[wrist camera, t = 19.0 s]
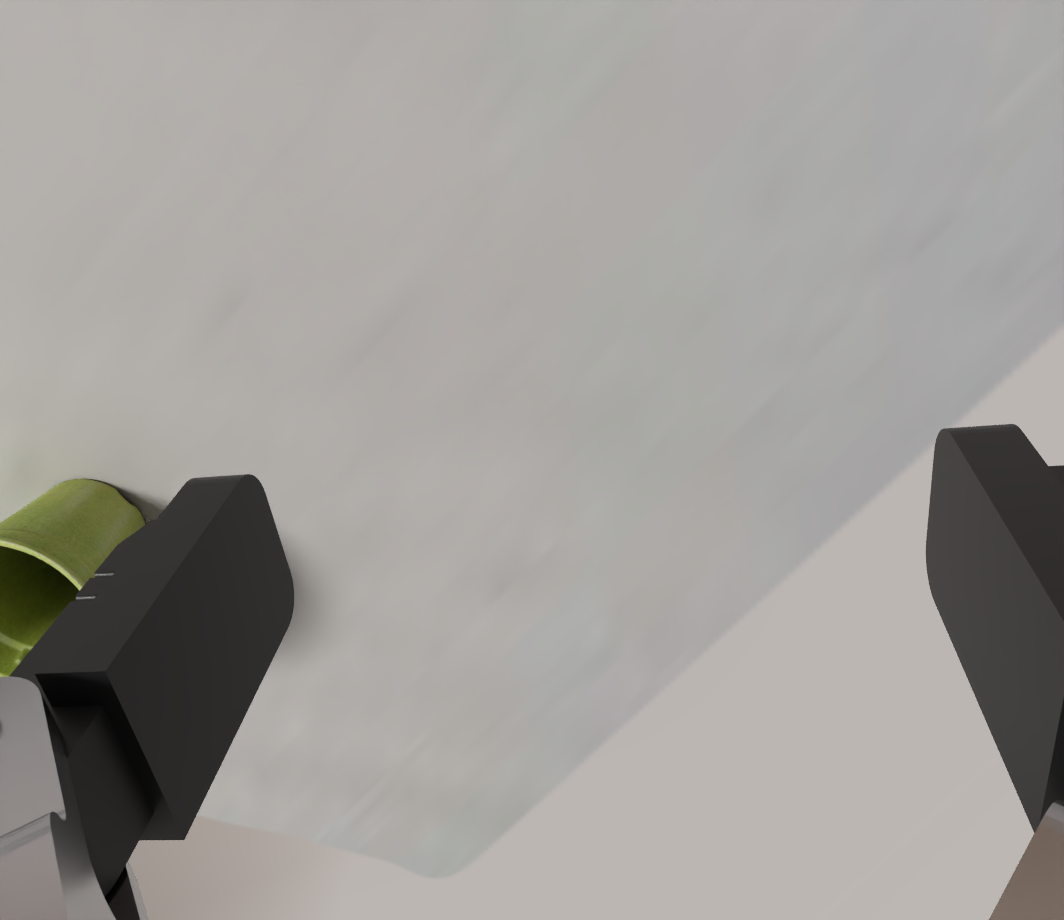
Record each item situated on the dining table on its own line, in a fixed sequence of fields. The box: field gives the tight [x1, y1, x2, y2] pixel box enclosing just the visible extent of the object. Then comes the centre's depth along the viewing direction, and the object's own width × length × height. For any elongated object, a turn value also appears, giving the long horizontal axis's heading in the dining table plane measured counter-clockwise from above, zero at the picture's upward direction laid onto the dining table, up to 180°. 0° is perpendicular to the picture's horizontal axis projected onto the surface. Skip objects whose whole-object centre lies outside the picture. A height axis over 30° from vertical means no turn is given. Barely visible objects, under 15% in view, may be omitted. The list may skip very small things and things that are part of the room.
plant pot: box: [0, 479, 146, 677], centre depth 51 cm, size 9×9×9 cm
